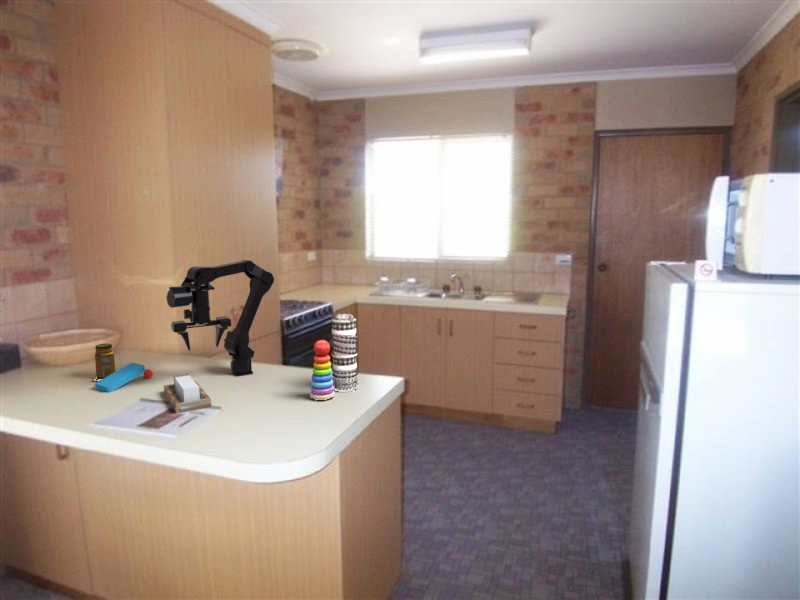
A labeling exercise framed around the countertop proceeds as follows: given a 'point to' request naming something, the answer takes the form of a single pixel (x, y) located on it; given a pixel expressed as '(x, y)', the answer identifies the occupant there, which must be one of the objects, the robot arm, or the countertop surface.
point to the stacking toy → (322, 373)
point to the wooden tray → (186, 406)
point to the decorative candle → (344, 352)
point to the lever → (123, 377)
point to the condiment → (104, 361)
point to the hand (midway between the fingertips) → (203, 348)
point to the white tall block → (186, 388)
